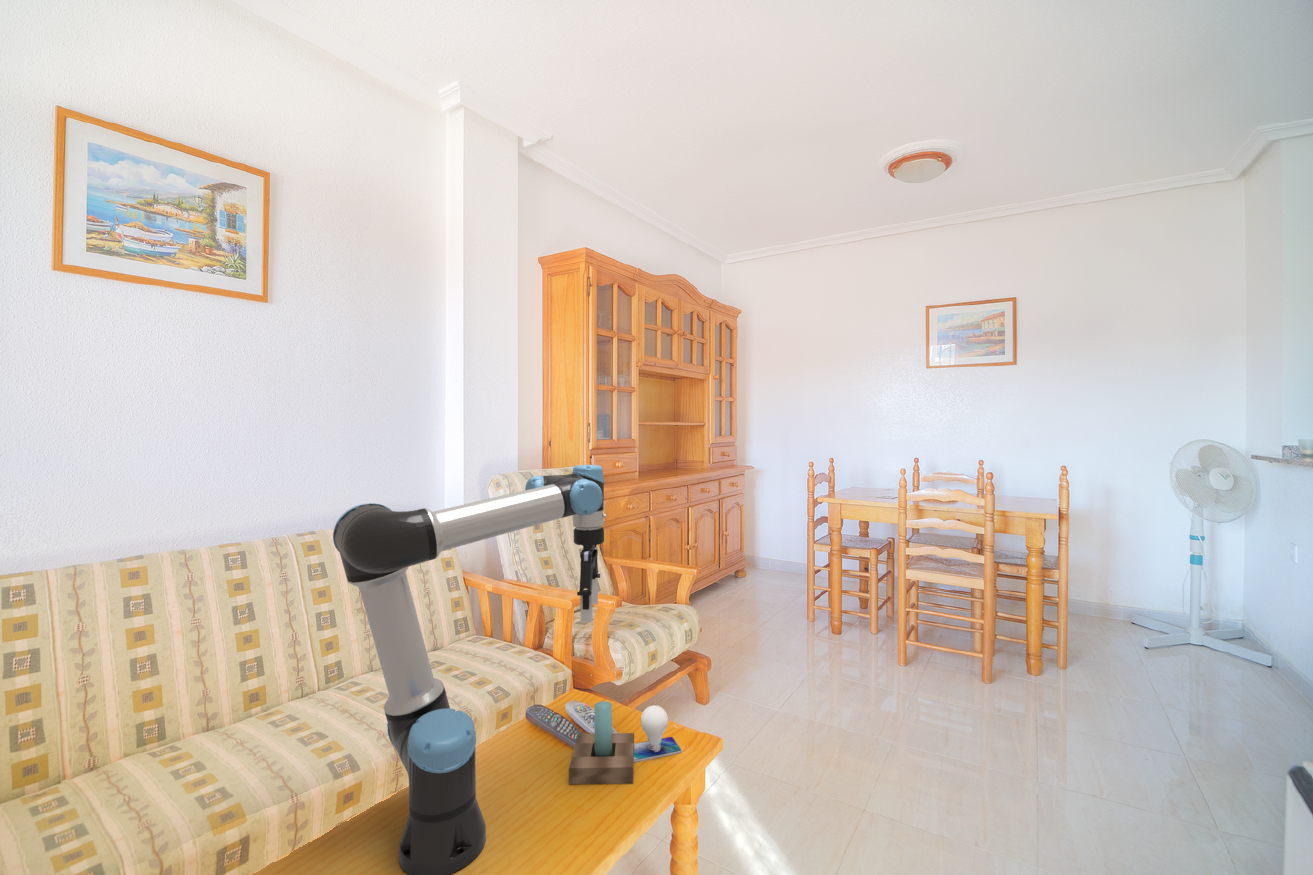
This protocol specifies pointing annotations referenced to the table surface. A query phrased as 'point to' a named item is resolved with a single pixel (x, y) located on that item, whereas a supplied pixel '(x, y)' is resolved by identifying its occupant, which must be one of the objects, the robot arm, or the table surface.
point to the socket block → (602, 761)
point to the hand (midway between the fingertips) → (589, 612)
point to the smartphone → (666, 749)
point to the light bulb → (654, 726)
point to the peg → (603, 729)
